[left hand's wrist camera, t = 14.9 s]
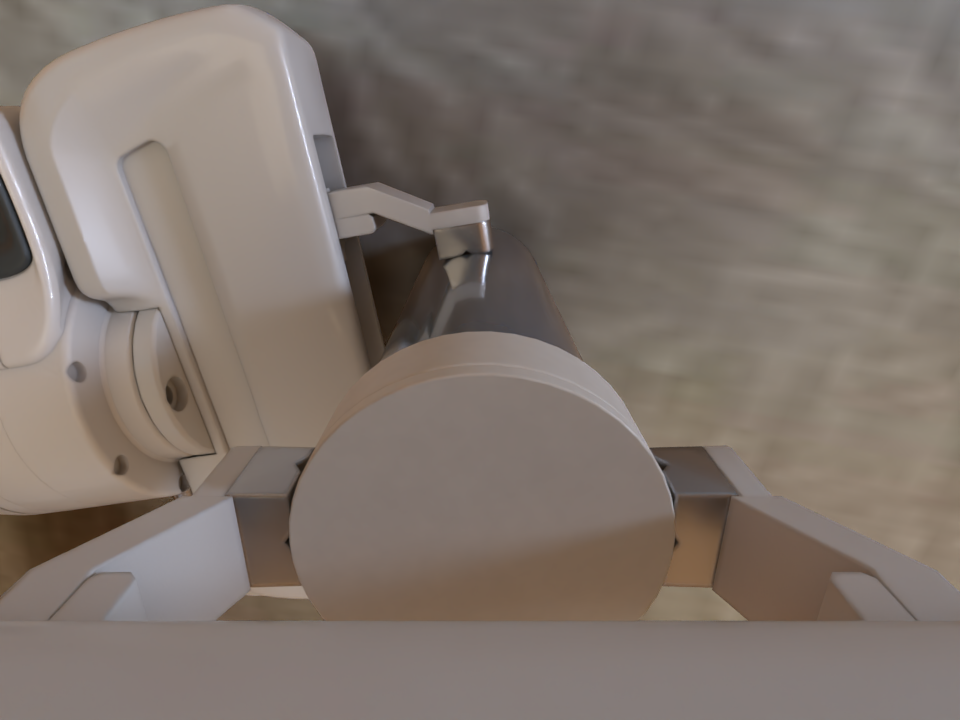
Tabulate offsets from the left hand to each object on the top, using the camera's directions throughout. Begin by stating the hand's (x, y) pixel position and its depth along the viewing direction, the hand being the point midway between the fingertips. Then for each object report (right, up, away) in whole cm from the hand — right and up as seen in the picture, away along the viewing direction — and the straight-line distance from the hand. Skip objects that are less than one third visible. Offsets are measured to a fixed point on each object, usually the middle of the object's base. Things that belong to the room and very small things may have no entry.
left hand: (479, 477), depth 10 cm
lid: (0, -1, -2) cm, 2 cm away
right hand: (+1, +4, +9) cm, 9 cm away
